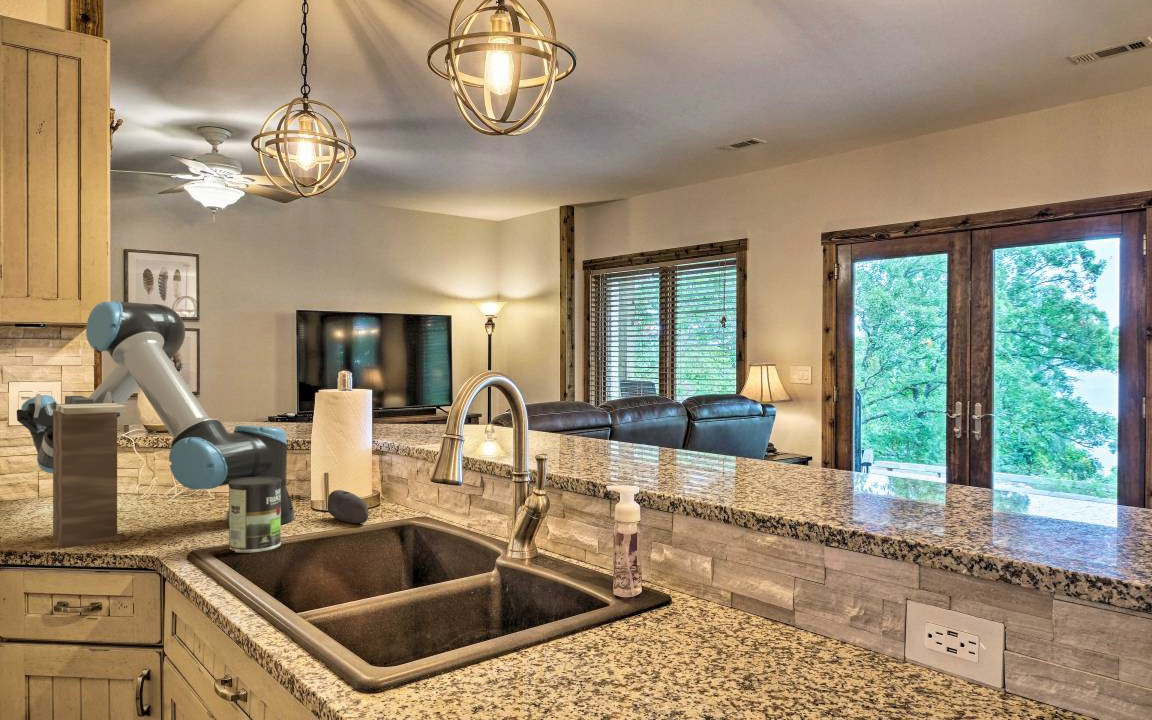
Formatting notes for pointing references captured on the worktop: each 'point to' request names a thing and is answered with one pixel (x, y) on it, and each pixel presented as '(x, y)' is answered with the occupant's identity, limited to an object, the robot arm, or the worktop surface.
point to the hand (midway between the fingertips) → (75, 397)
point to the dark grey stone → (347, 507)
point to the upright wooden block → (84, 478)
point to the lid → (87, 406)
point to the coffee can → (254, 514)
